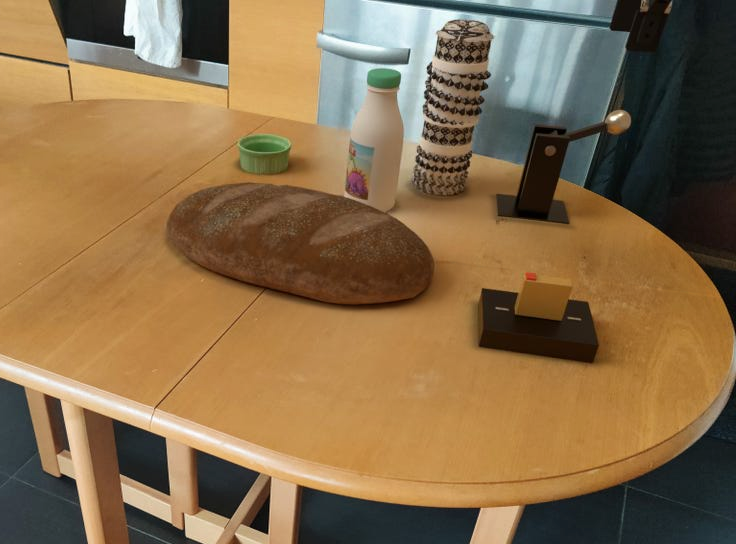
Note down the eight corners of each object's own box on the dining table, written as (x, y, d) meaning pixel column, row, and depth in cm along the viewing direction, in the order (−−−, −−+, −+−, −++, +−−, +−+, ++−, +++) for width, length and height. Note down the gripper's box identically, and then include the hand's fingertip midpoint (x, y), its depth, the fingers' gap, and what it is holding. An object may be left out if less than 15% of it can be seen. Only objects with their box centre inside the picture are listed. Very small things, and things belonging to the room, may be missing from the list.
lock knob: (560, 313, 80) (571, 277, 78) (561, 321, 79) (573, 284, 76) (514, 307, 81) (524, 271, 78) (514, 314, 80) (525, 278, 77)
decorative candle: (422, 206, 110) (451, 31, 95) (399, 182, 117) (423, 17, 102) (476, 201, 112) (513, 29, 97) (450, 178, 119) (481, 15, 104)
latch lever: (630, 125, 99) (626, 103, 98) (634, 133, 97) (631, 110, 95) (539, 153, 104) (534, 132, 103) (541, 161, 102) (536, 140, 100)
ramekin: (267, 154, 126) (268, 130, 124) (301, 170, 121) (302, 145, 118) (227, 166, 122) (226, 140, 119) (260, 183, 116) (260, 156, 114)
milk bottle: (388, 196, 113) (406, 64, 101) (398, 218, 107) (419, 79, 95) (339, 197, 112) (351, 64, 100) (347, 219, 106) (361, 79, 94)
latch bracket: (561, 207, 110) (585, 125, 103) (566, 230, 104) (593, 144, 97) (494, 200, 112) (513, 118, 105) (496, 222, 106) (516, 137, 98)
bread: (399, 337, 81) (409, 273, 76) (132, 260, 95) (126, 201, 90) (451, 257, 97) (462, 199, 92) (215, 200, 111) (214, 147, 106)
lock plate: (581, 323, 84) (588, 300, 83) (591, 367, 77) (600, 343, 76) (477, 308, 87) (482, 286, 85) (477, 351, 80) (483, 327, 78)
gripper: (756, -133, 66) (684, 62, 76) (703, -140, 79) (648, 26, 89) (669, -136, 67) (610, 57, 77) (631, -143, 80) (585, 22, 91)
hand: (630, 40), depth 83 cm, fingers open, 9 cm apart
